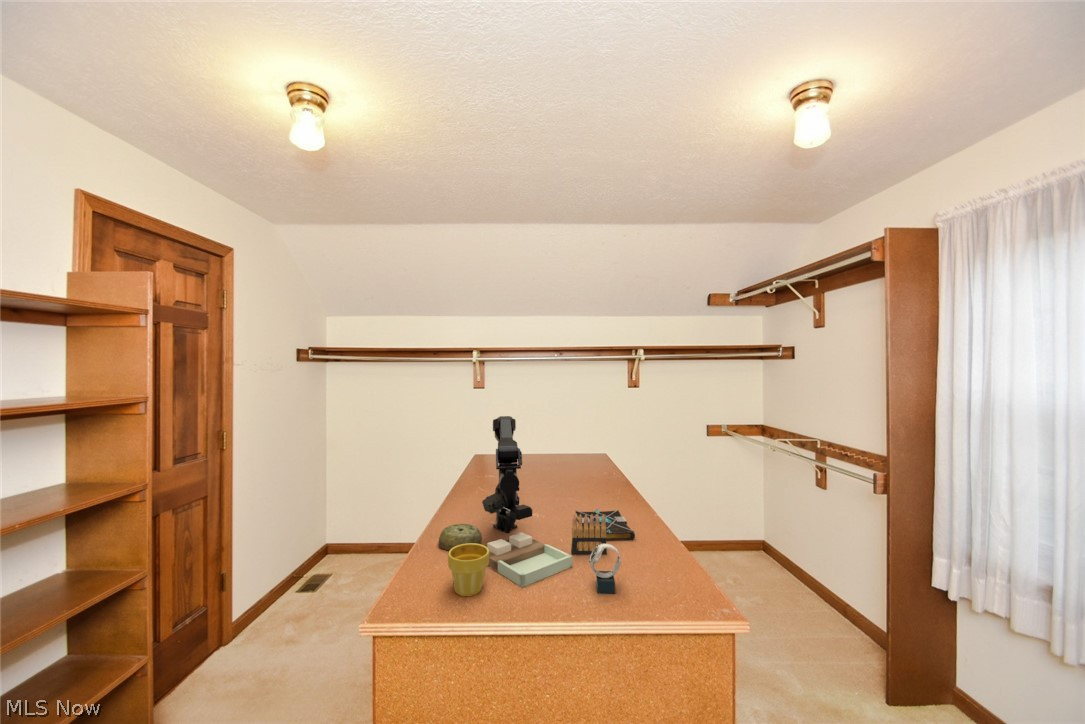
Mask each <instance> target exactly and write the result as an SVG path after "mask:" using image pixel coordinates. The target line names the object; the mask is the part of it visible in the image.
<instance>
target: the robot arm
mask: <svg viewBox="0 0 1085 724" xmlns="http://www.w3.org/2000/svg"><path fill="white" fill-rule="evenodd" d="M516 423H517V422H516V419H515V418H513V416H510V415H507V416H505V415H502V416H498V417H497V418H495V419H492V432H494V438H495V440H496V441H497V448H495V469H496V470H498V483H497V485H496V487H495V490H494V491H495V492H494V493H493V494H491V495H489V496H488V495H487V496H486V497H485V499H483V500H482V501H481V502H482V503H481V504H482V506H483V509H484V511H485V512H488V513H489V514H491V515H492V514H495V513H496V516H495V517H496V520H495V522H496V523H495V524H493V525H492V527H493V528H495V529H496V530H499V531H501V532H504V533H505V534H507V535H508V534H510V533H511V531H512V529H516V528H518V525H517V524H515V522H516V521H519V520H524V519H528V518H531V517H533V508H532V507H531V506H528V505H525V504H520V497H519V495H518V493H517V492H519V491H520V479H519V478H518V477H519V476H518V473H517V471H518V470H521V469H522V466H523V453H522V451H521V448H519V447H518V442H517V441H516V440H515V439H514V433H515V431H516V428H517V424H516Z"/></svg>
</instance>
